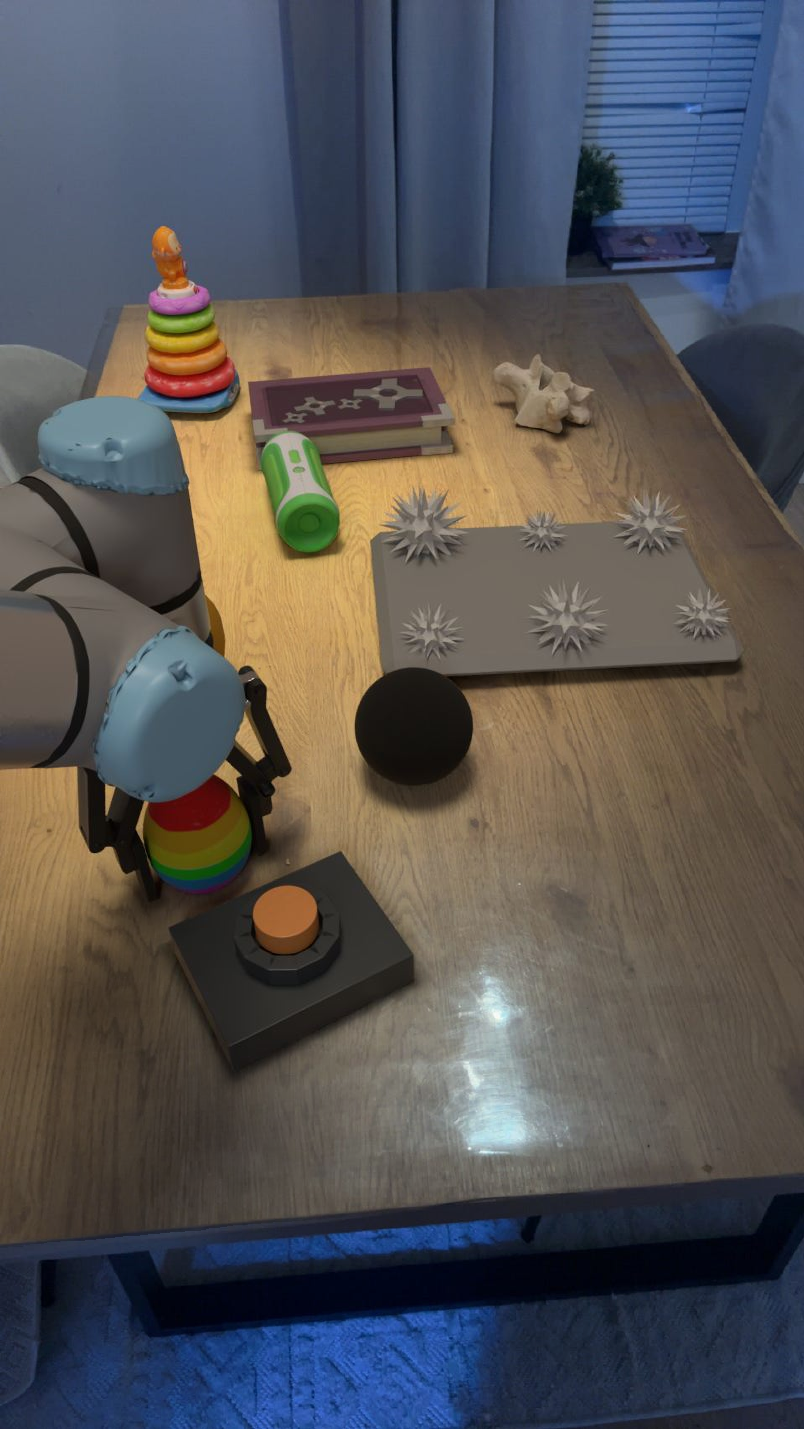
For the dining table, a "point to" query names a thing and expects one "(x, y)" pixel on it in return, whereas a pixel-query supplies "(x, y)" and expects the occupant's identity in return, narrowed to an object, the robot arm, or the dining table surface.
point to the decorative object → (543, 395)
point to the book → (356, 414)
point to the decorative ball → (413, 726)
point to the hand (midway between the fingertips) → (203, 865)
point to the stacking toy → (184, 340)
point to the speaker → (299, 492)
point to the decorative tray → (543, 594)
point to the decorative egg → (198, 837)
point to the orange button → (286, 920)
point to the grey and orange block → (291, 963)
